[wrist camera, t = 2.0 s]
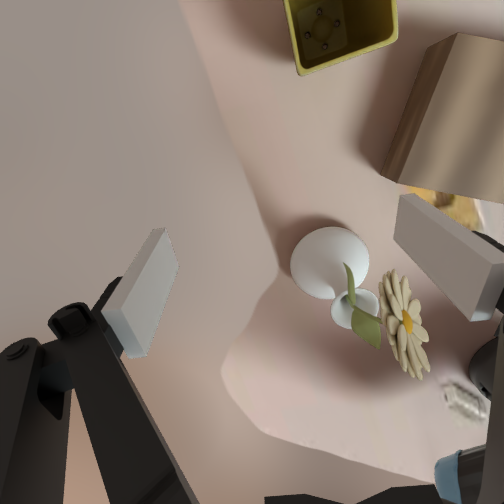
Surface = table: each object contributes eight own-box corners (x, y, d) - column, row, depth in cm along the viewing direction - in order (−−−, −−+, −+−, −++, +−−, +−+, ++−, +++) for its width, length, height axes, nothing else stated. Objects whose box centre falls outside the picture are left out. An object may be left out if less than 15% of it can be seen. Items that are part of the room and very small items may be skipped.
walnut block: (548, 72, 31) (606, 61, 25) (481, 194, 37) (517, 206, 31) (425, 48, 31) (458, 32, 25) (379, 174, 37) (397, 183, 31)
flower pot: (368, 62, 31) (400, 40, 23) (293, 88, 33) (298, 77, 25) (356, -37, 28) (389, -102, 20) (274, -1, 30) (273, -48, 22)
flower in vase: (366, 287, 43) (488, 451, 20) (294, 297, 44) (327, 463, 21) (362, 206, 39) (513, 292, 15) (282, 219, 40) (308, 319, 16)
